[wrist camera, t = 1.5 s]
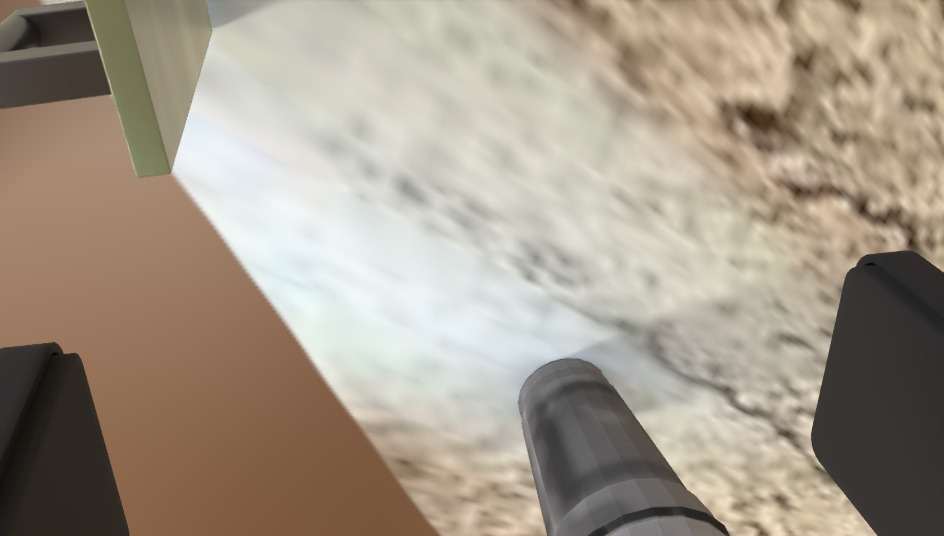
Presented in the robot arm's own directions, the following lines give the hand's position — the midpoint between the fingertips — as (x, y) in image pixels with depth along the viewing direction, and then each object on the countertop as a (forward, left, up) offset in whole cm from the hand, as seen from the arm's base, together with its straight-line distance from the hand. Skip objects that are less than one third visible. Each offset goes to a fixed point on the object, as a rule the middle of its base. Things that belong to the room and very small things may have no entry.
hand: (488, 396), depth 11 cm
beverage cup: (+14, +17, -25) cm, 33 cm away
